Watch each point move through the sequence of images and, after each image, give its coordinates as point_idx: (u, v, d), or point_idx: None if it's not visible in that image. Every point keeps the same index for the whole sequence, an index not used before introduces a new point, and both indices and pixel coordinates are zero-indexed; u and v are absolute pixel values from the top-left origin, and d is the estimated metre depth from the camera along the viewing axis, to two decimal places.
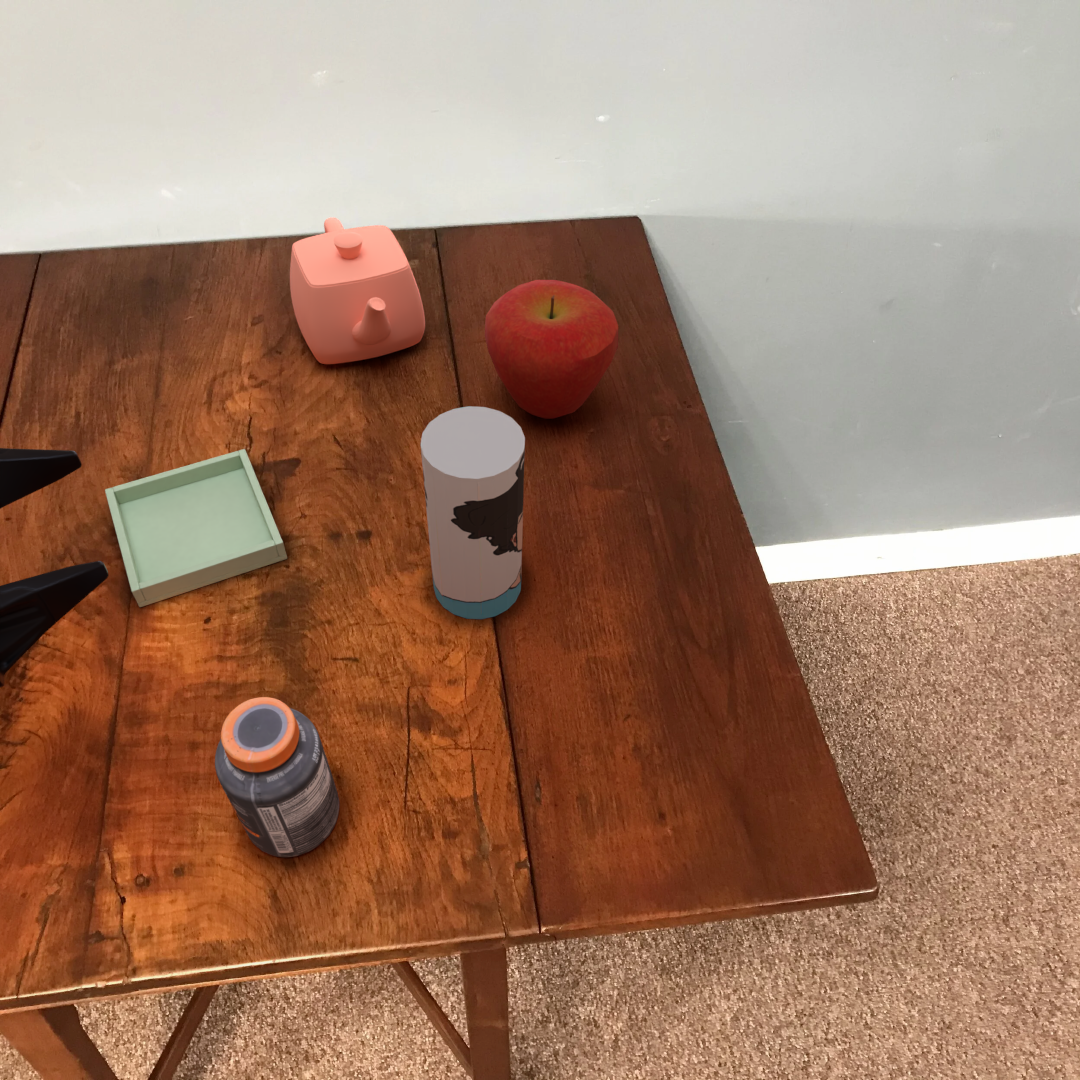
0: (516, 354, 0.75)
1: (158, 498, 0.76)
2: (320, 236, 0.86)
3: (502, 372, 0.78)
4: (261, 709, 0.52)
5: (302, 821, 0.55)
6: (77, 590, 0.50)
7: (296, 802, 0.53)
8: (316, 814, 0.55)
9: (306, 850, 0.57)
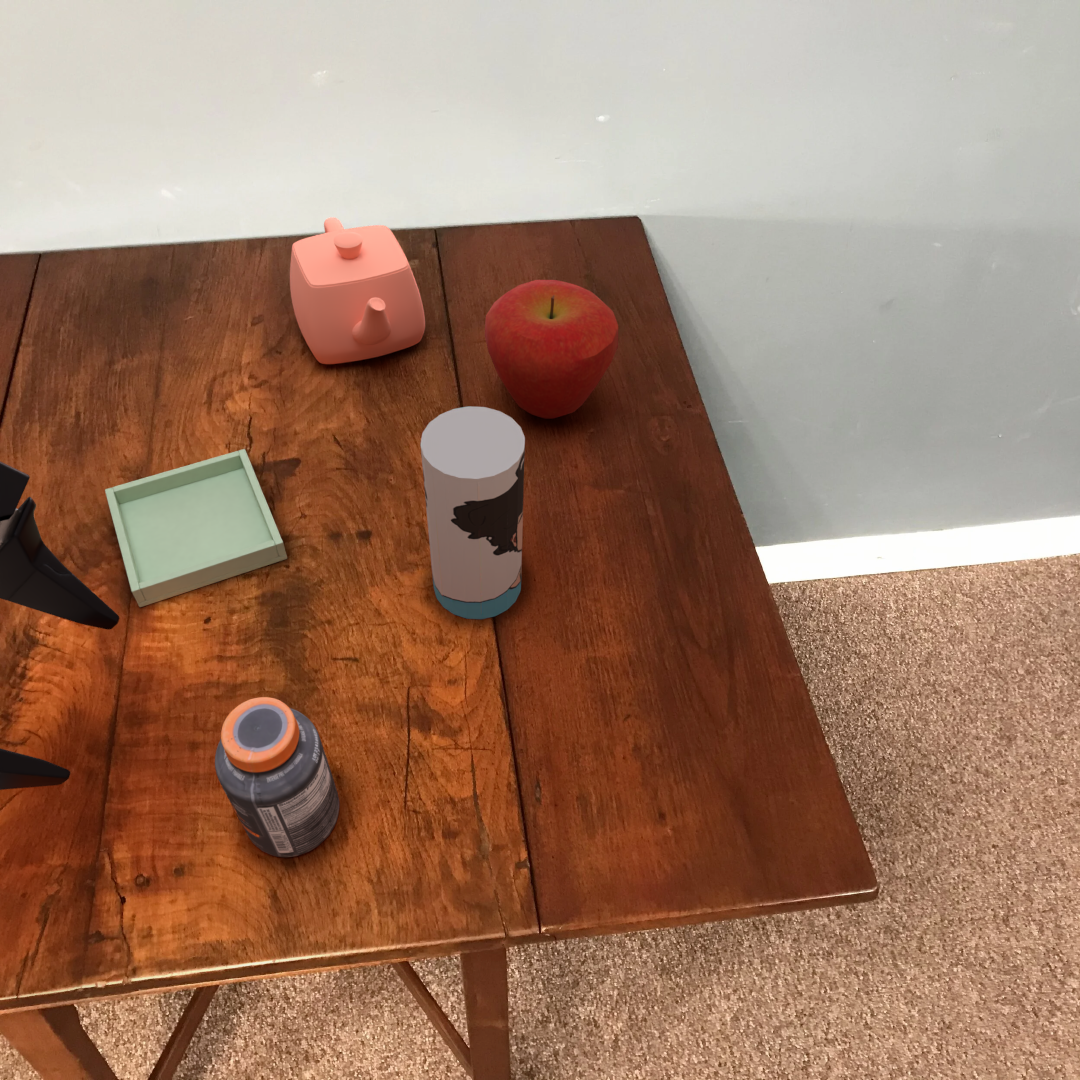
0: (516, 354, 0.75)
1: (158, 498, 0.76)
2: (320, 236, 0.86)
3: (502, 372, 0.78)
4: (261, 709, 0.52)
5: (302, 821, 0.55)
6: (25, 782, 0.45)
7: (296, 802, 0.53)
8: (316, 814, 0.55)
9: (306, 850, 0.57)
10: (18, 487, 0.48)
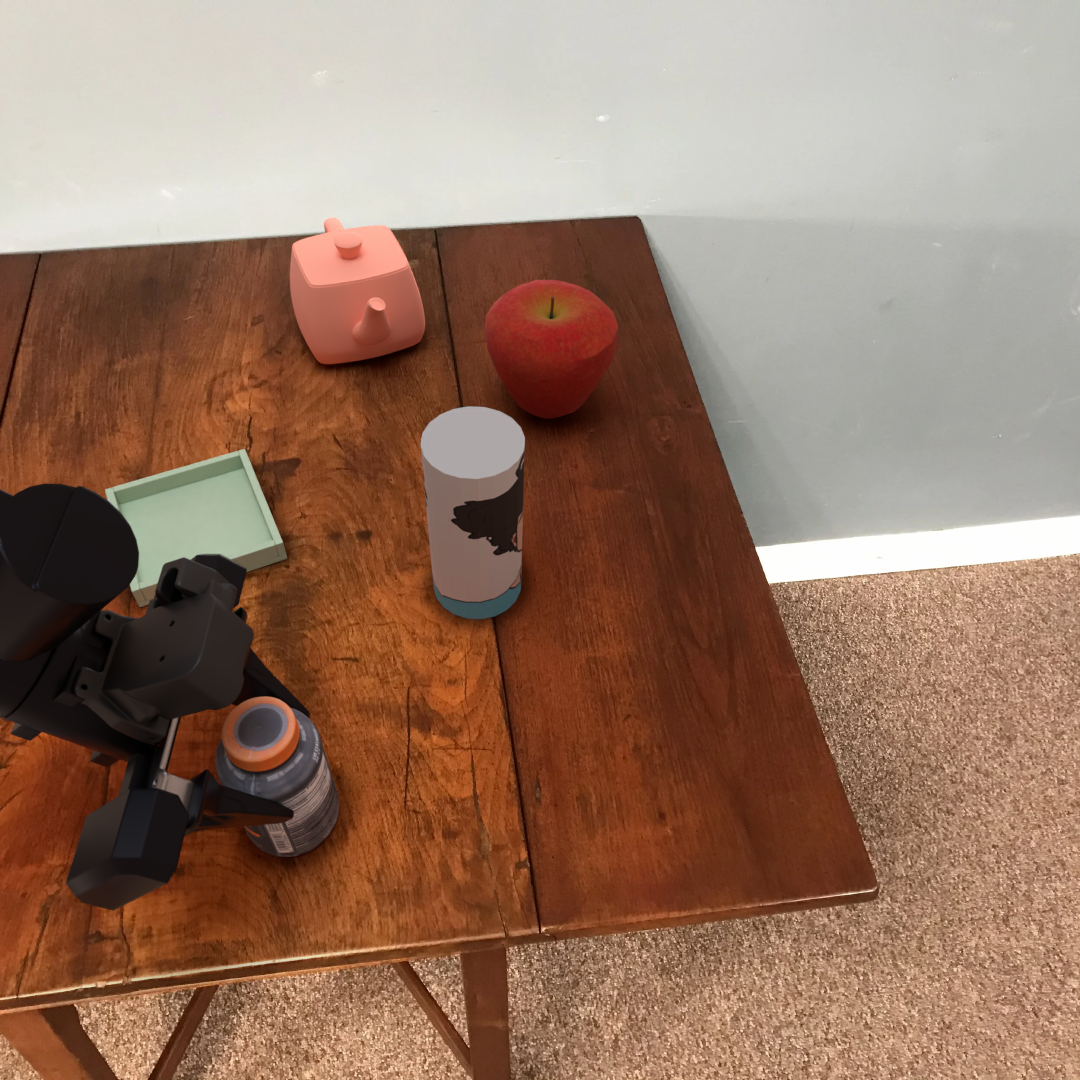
0: (516, 354, 0.75)
1: (158, 498, 0.76)
2: (320, 236, 0.86)
3: (502, 372, 0.78)
4: (262, 708, 0.52)
5: (302, 821, 0.55)
6: (259, 821, 0.51)
7: (296, 801, 0.53)
8: (317, 813, 0.55)
9: (306, 850, 0.57)
10: (239, 579, 0.54)
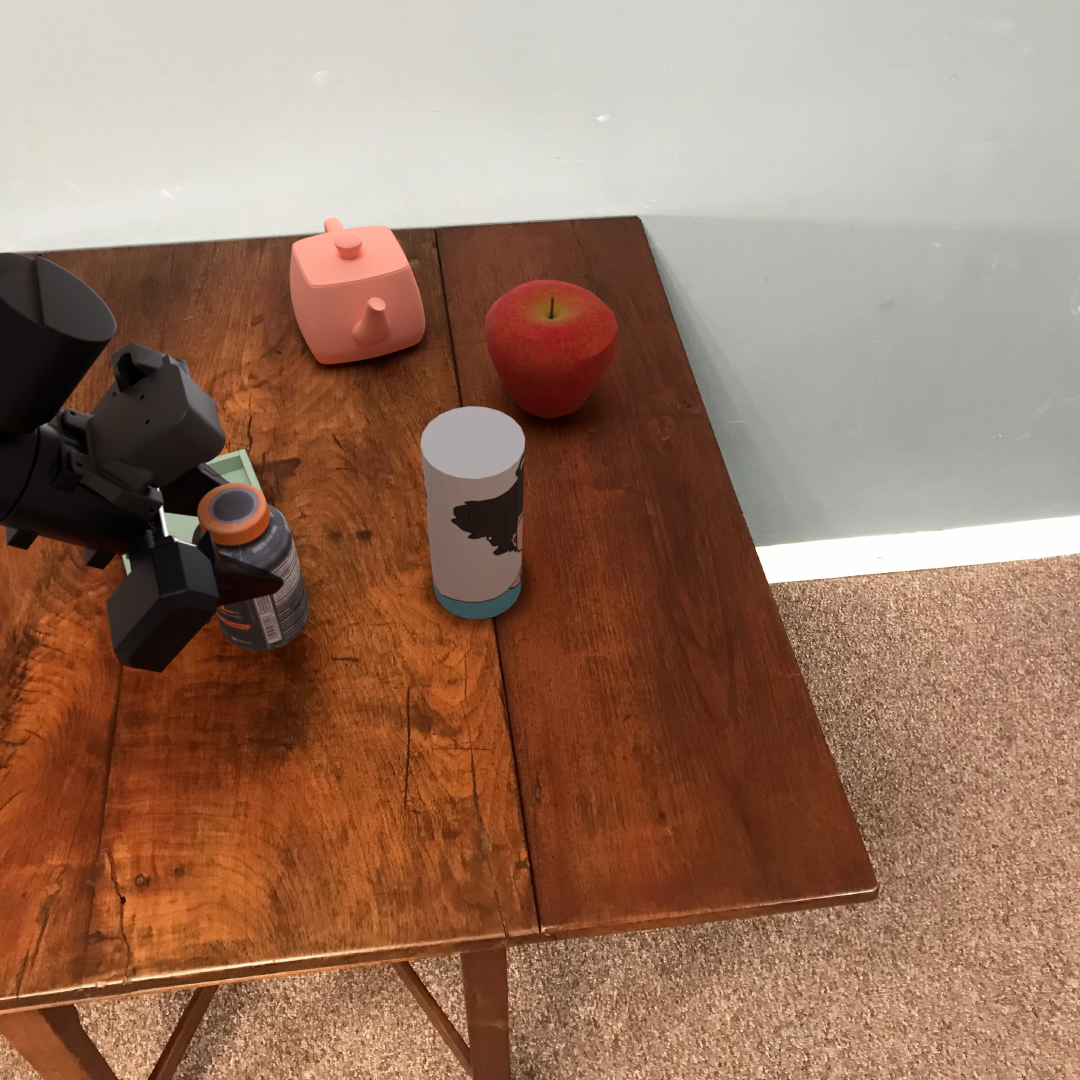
0: (516, 354, 0.75)
1: None
2: (320, 236, 0.86)
3: (502, 372, 0.78)
4: (228, 492, 0.56)
5: (287, 597, 0.59)
6: (256, 591, 0.56)
7: (281, 572, 0.57)
8: (297, 591, 0.60)
9: (292, 636, 0.62)
10: None
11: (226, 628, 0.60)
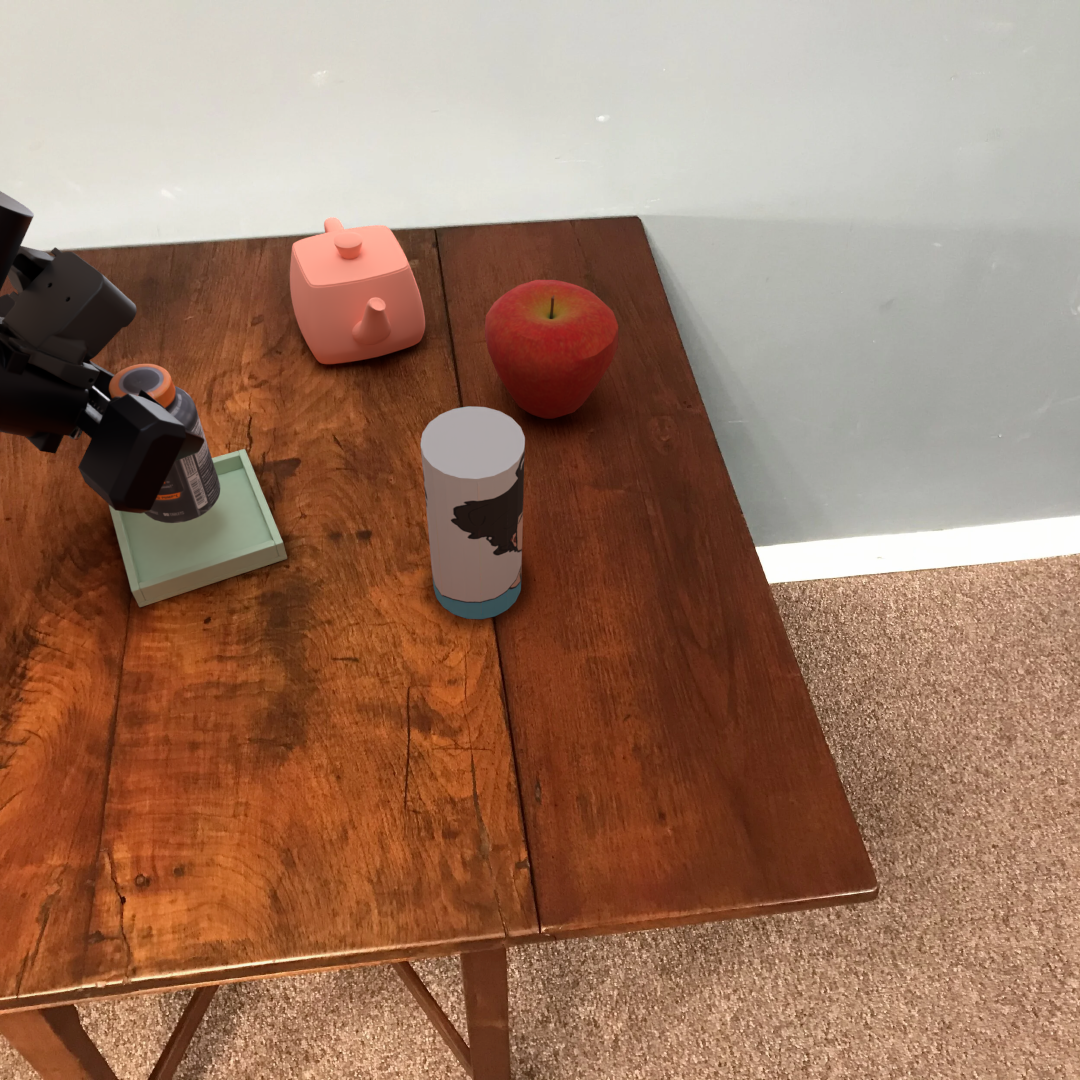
0: (516, 354, 0.75)
1: None
2: (320, 236, 0.86)
3: (502, 372, 0.78)
4: (130, 373, 0.63)
5: (205, 459, 0.67)
6: (186, 448, 0.64)
7: (197, 433, 0.66)
8: (209, 454, 0.68)
9: (214, 499, 0.70)
10: None
11: (157, 506, 0.68)
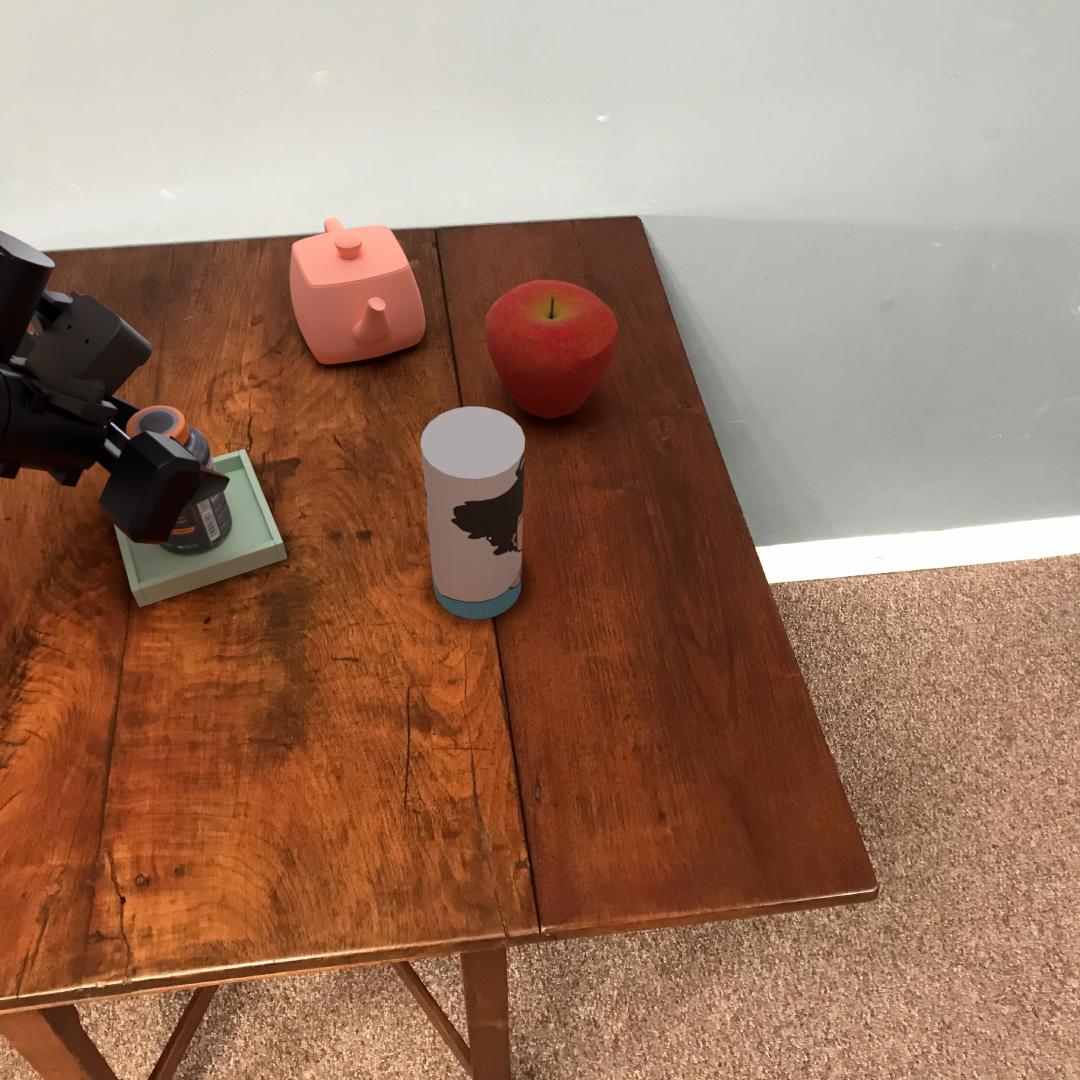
0: (516, 354, 0.75)
1: None
2: (320, 236, 0.86)
3: (502, 372, 0.78)
4: (146, 415, 0.66)
5: (217, 494, 0.70)
6: (212, 489, 0.66)
7: None
8: None
9: (226, 531, 0.73)
10: None
11: (172, 539, 0.70)
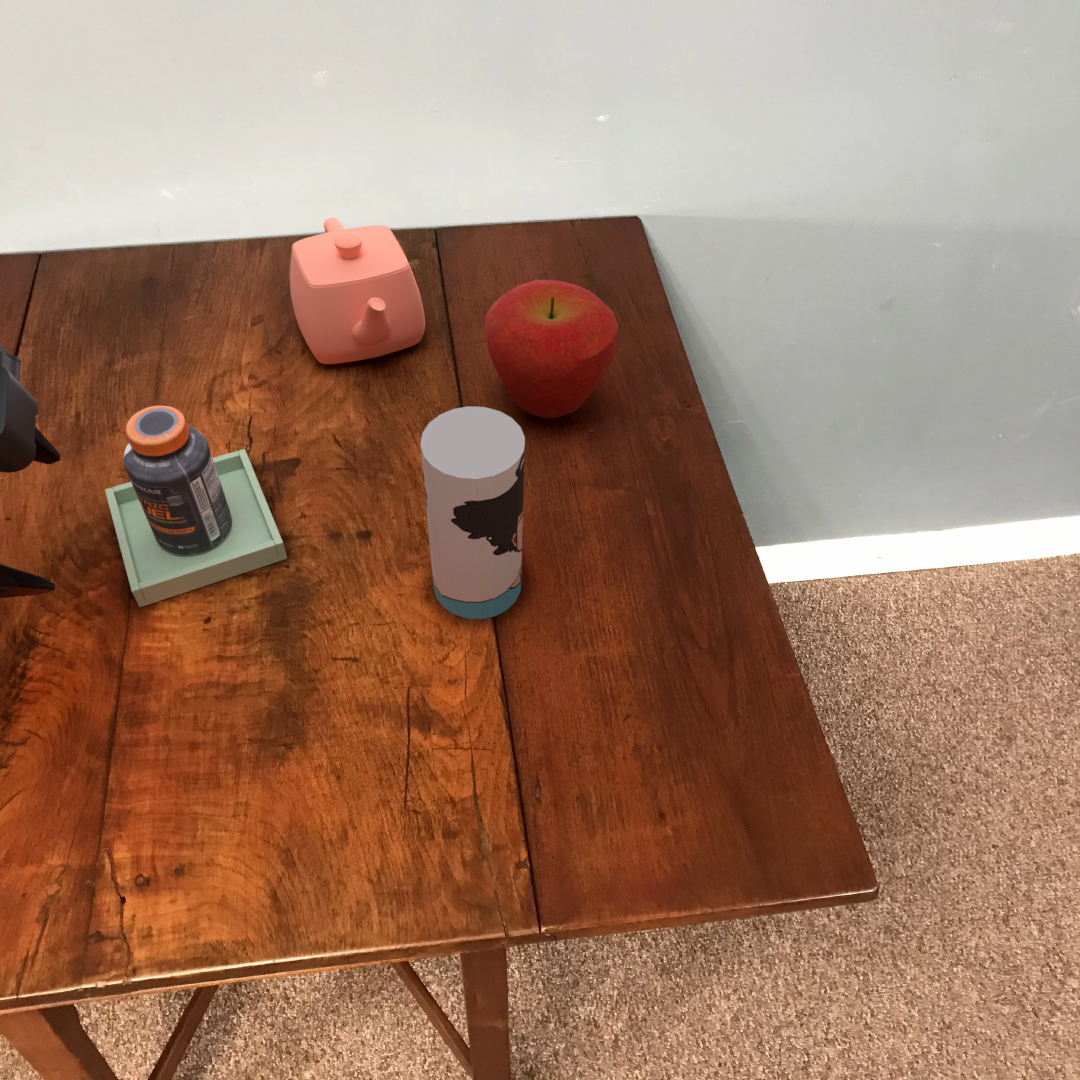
0: (516, 354, 0.75)
1: None
2: (320, 236, 0.86)
3: (502, 372, 0.78)
4: (146, 415, 0.66)
5: (217, 494, 0.70)
6: (23, 593, 0.56)
7: (210, 470, 0.68)
8: (221, 489, 0.71)
9: (226, 531, 0.73)
10: None
11: (172, 539, 0.70)
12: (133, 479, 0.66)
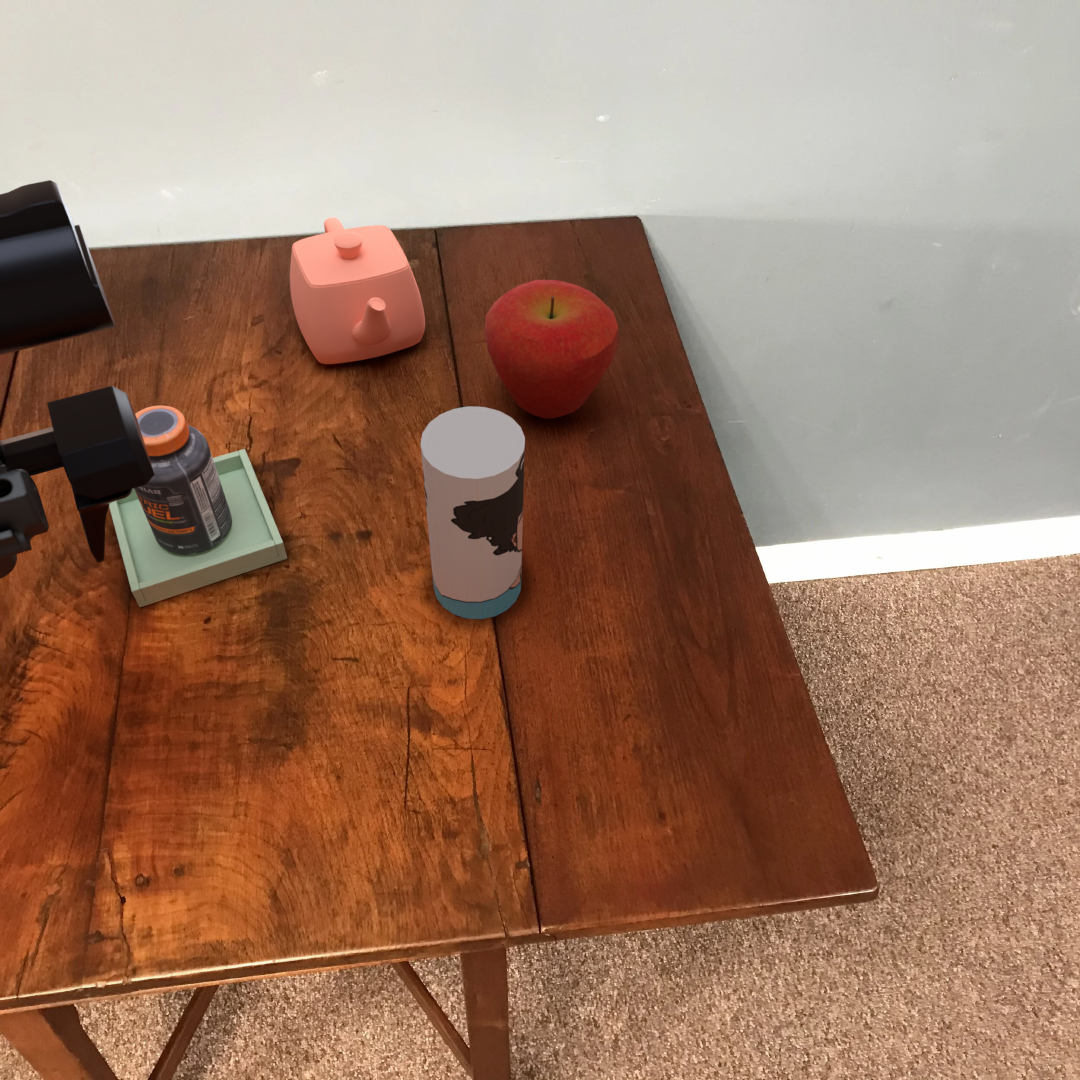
0: (516, 354, 0.75)
1: None
2: (320, 236, 0.86)
3: (502, 372, 0.78)
4: (146, 415, 0.66)
5: (217, 494, 0.70)
6: None
7: (210, 470, 0.68)
8: (221, 489, 0.71)
9: (226, 531, 0.73)
10: (126, 486, 0.49)
11: (172, 539, 0.70)
12: None
